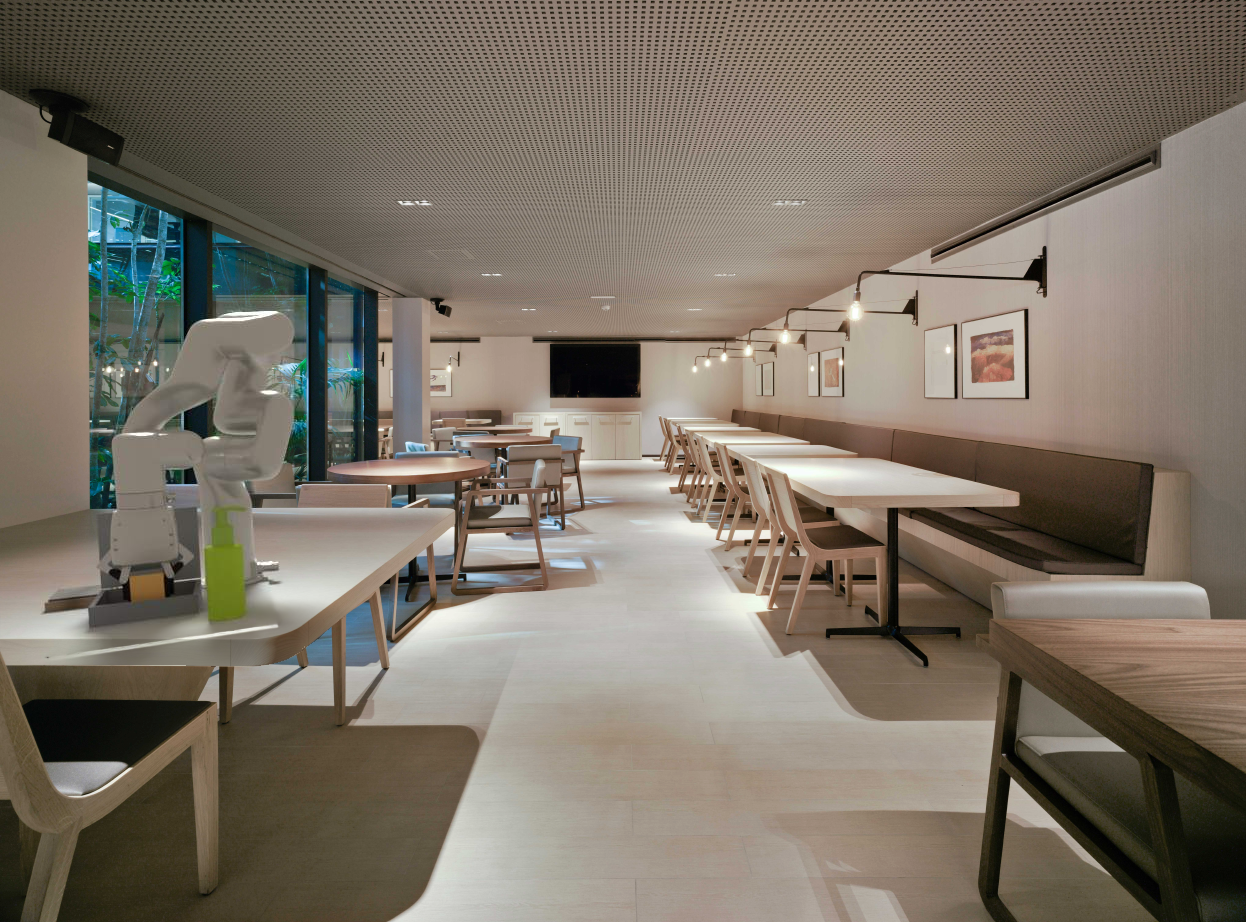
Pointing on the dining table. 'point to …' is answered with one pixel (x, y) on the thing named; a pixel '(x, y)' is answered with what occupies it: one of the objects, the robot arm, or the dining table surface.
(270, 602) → the dining table surface
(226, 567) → the soap dispenser
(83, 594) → the pad
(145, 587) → the block
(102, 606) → the case
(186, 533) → the lid
